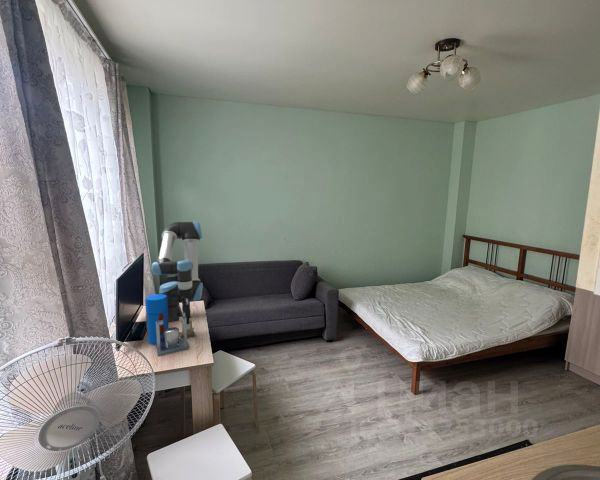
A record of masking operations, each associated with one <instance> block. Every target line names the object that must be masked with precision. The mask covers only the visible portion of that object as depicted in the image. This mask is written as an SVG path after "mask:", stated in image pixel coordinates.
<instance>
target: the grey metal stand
mask: <svg viewBox="0 0 600 480" xmlns="http://www.w3.org/2000/svg"><path fill="white" fill-rule="evenodd" d="M178 320H179V322H181V321H183V331H184V338H180V336H179V332H180V328H179V327H178V326H177V327H176V326H175V327H169V328H168V329H166V330H165V331H164V332H165V341H164V342H160V332H159V325H161V324H163V320H160V321H156V335H157V343H156V345H155V348H156V349H155V350H156V355H157V356H156V357H159V356H164V355H169V354H174V353H178V352H184V351H188V350H190V346H189V345H190V344H189V342H188V341H189V340H188V338H187V322H186V316H185V317H183V316H182V317H179V319H178Z"/></svg>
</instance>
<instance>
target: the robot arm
mask: <svg viewBox="0 0 600 480" xmlns="http://www.w3.org/2000/svg"><path fill="white" fill-rule="evenodd" d="M202 238H203V235H202V228H201V223H200V222H198V221H174V222H171V223H170V224H168V225H167V226H166V227H165V228H164V229H163V231H162V233H161V239H162V240H161V245H160V248H159V249H160V250H159V253H158V257H157V261H154V262H152V264H151V272H152V275H154V276H164V275H165V276H166V275H177V281H168V282H166V283H162V284H160V286H159V292H158V294H164V295H166V296H167V305H168V323H169V322H175V321H177V320H179V317H185V316H186V322H187V329H191V328H190V318H191V317H192V316H191V304H190V303H191V302H196V301H200V300H201V299H202V295H203V294H202V293H203V287H204V286H203V285H204V284H203V282H201V279H200V278H199V254H198V252H199V248H198V246H199V245H198V244H199V243H200V242H201V241H200V240H201V239H202ZM177 240H181V243H183V244H184V245H183V247H184V260H177V261H172V260H173V254H174V249H175V243H176V241H177ZM180 303H181V306H180Z"/></svg>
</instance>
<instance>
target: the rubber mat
mask: <svg viewBox="0 0 600 480" xmlns="http://www.w3.org/2000/svg"><path fill="white" fill-rule="evenodd" d="M180 334H182V331H179V339H180V338H184V337H180ZM191 338H196V333H195V329H194V330H193V331H192V335H188V336H187V339H191Z"/></svg>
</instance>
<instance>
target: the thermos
mask: <svg viewBox="0 0 600 480" xmlns="http://www.w3.org/2000/svg"><path fill="white" fill-rule="evenodd" d="M145 319H146V335H147V342H148V344H149V345H154V346H156V343H157V335H156V321H160V320H163V324H161V325H159V332H160V342H164V341H165V332H164V331H165V330H166V329H168V328H170V326H169V322H168V305H167V296H166V295H164V294H159V293H155V294H151V295H148V296H146V297H145Z"/></svg>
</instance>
